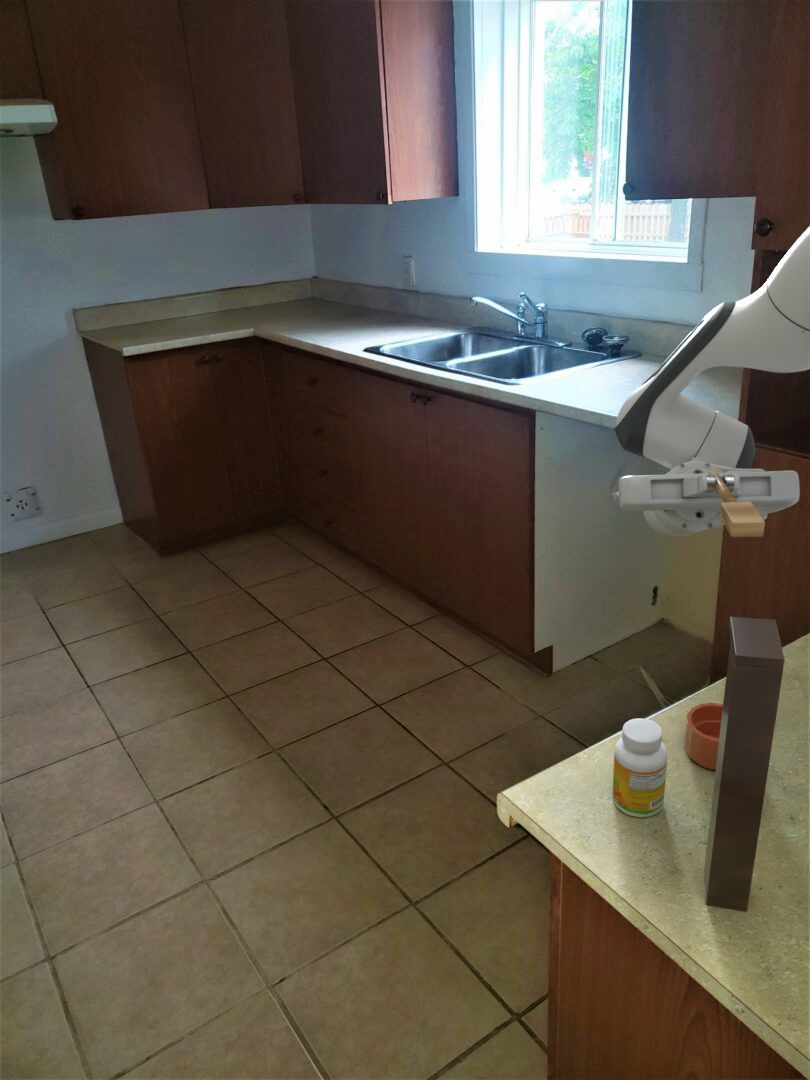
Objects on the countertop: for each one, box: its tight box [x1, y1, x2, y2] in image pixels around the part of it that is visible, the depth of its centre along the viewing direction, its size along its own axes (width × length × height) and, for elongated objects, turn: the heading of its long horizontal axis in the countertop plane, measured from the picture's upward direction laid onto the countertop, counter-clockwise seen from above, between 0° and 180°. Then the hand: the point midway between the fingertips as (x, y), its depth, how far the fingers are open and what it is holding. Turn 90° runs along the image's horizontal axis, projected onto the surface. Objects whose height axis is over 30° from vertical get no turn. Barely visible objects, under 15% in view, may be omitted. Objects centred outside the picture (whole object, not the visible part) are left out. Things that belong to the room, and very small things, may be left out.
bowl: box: [683, 702, 723, 771], centre depth 94 cm, size 7×7×4 cm
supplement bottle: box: [612, 717, 668, 818], centre depth 87 cm, size 5×5×10 cm
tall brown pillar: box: [703, 616, 785, 913], centre depth 73 cm, size 4×6×28 cm, turn 164°
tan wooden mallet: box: [709, 470, 766, 538], centre depth 86 cm, size 15×3×2 cm, turn 174°
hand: (720, 482), depth 90 cm, fingers closed on tan wooden mallet, 1 cm apart
